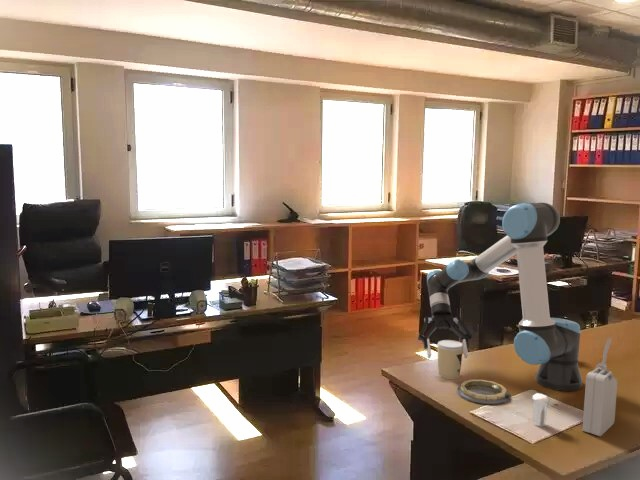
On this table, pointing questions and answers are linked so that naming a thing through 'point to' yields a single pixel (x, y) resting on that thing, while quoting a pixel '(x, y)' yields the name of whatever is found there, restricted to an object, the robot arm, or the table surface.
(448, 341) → the coffee cup
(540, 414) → the milkshake
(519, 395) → the table surface
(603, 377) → the fuel canister
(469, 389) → the carrier plate
